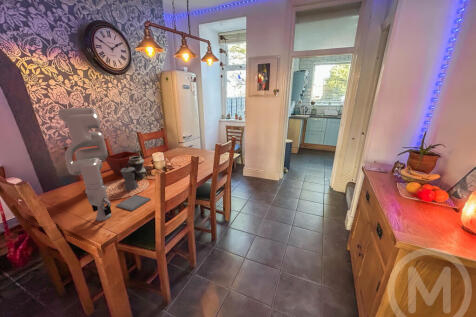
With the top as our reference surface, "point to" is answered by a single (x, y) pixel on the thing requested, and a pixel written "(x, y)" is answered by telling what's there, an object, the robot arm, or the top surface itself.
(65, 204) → the top surface
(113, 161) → the plant pot
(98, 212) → the flask
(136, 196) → the slate coaster
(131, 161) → the apothecary jar
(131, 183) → the coffeepot
